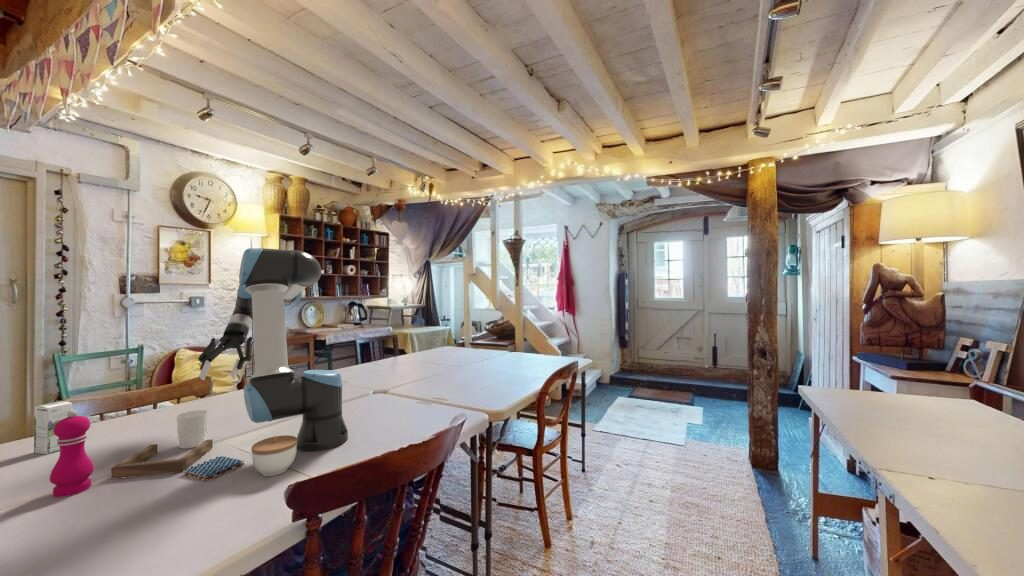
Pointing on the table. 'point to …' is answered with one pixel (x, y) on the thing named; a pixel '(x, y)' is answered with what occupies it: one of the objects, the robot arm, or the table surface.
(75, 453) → the pepper mill
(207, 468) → the woven mat
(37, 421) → the syrup box
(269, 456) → the lidded jar
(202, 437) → the white cup
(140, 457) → the walnut bay
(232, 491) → the table surface
